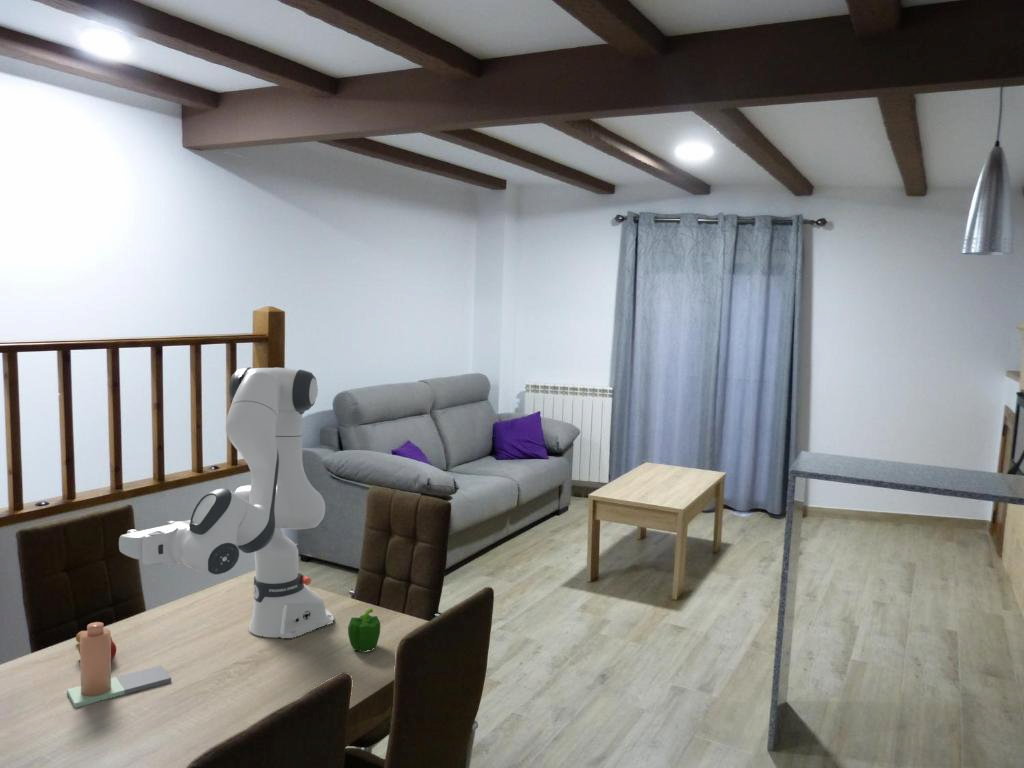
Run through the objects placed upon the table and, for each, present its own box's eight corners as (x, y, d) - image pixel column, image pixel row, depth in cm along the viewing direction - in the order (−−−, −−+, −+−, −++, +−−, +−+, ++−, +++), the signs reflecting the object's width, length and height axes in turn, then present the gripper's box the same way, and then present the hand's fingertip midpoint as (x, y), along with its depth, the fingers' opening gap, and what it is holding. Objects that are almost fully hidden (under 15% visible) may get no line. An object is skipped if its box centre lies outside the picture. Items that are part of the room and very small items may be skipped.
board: (161, 669, 191) (161, 665, 190) (171, 681, 185) (171, 677, 185) (67, 693, 178) (67, 689, 178) (74, 707, 172) (74, 703, 172)
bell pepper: (359, 659, 200) (360, 621, 199) (342, 647, 206) (343, 610, 205) (387, 650, 206) (388, 613, 205) (370, 638, 212) (371, 602, 211)
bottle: (110, 681, 182) (110, 617, 180) (111, 692, 177) (110, 628, 175) (80, 686, 179) (79, 622, 178) (80, 698, 174) (79, 632, 172)
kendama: (62, 652, 200) (87, 668, 187) (65, 626, 200) (90, 641, 188) (95, 649, 205) (121, 664, 192) (98, 624, 206) (124, 637, 193)
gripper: (224, 518, 185) (191, 506, 193) (138, 538, 169) (106, 524, 177) (224, 545, 186) (191, 532, 194) (139, 567, 169) (106, 552, 178)
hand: (150, 528), depth 185 cm, fingers open, 8 cm apart
